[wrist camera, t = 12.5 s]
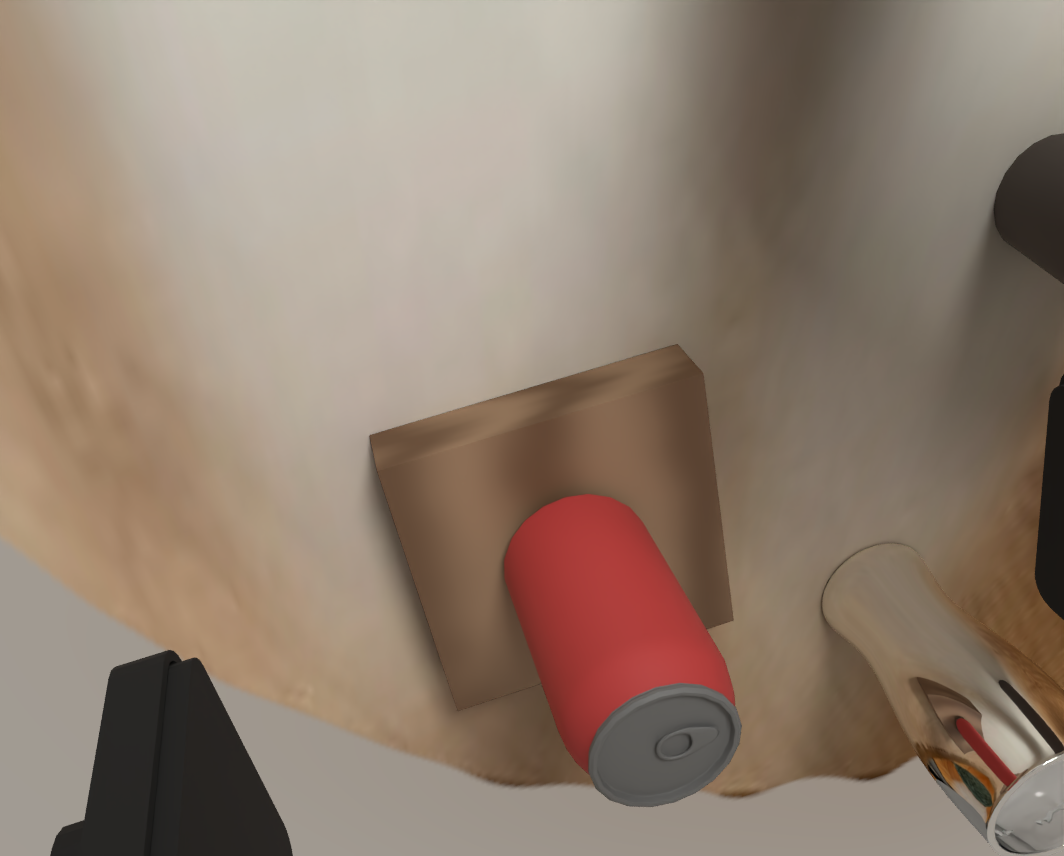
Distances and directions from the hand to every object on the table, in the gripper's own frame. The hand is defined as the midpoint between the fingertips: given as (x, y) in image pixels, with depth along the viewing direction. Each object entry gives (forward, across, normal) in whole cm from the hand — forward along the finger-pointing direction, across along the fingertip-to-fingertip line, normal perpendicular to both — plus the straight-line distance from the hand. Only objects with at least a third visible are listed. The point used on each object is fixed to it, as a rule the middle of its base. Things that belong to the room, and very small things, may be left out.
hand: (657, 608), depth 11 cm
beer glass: (+31, -19, +32) cm, 48 cm away
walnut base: (+30, -3, +21) cm, 37 cm away
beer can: (+28, -3, +21) cm, 35 cm away
